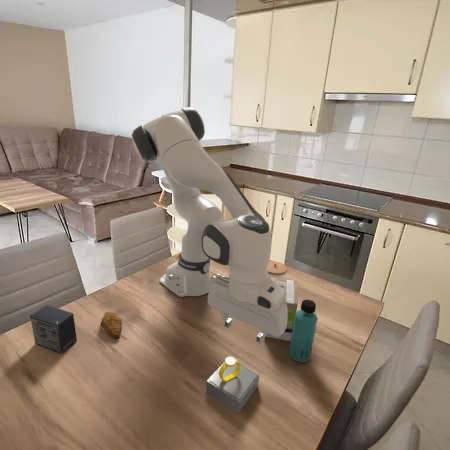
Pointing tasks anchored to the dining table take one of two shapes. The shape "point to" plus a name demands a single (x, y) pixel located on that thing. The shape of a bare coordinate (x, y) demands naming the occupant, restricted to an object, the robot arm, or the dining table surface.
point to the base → (233, 387)
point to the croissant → (112, 324)
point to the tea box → (288, 306)
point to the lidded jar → (276, 270)
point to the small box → (54, 328)
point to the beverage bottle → (303, 331)
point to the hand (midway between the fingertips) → (243, 333)
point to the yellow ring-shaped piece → (229, 363)
